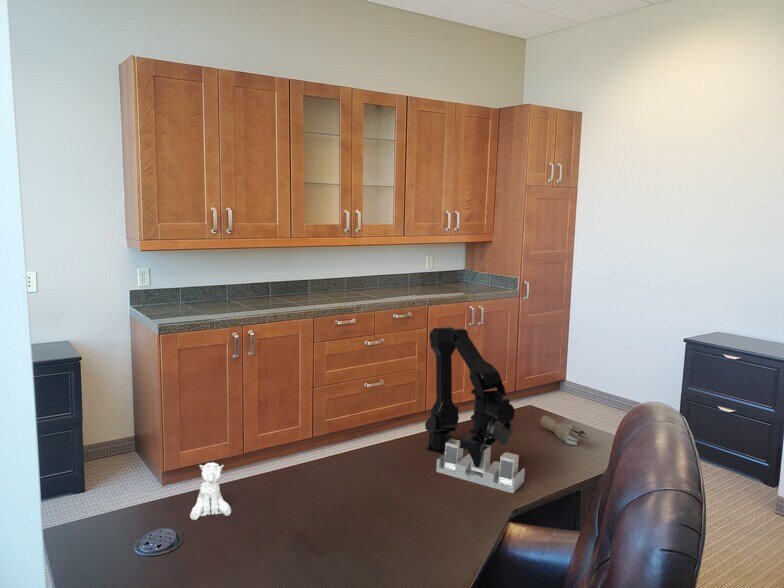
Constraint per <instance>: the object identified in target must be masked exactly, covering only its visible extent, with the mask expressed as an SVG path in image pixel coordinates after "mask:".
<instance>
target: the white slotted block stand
mask: <svg viewBox="0 0 784 588" xmlns="http://www.w3.org/2000/svg"><path fill="white" fill-rule="evenodd" d="M459 446H460V440H459V439H454V438H452V439H450V440H449V441H447V442H446V447H445V453H444V454H443V453H442V454H441V455H440V456H439V457H437V458H436V469H435V470H436V473H439V474H444V475H447V476H450V477H452V478H457V479H459V480H464V481H467V482H471V483H474V484H479V485H481V486H486V487H489V488H492V489H496V490H499V491H503V492H506V493H510V494H514V493H515V492H516V491H517V490H518V489H519V488H520V487H522V485H523V484H524V483H525V474H526V473H525V472H526V468H524V467H523V468H522V469H521V470H520V471H519V470H518V469H519V459H520V455H519V454H515V453H510V452H508V451H506V452H503V453H502V454H501V455H500V457H499V459H500V460H499V461H497V460H496V461H495V460H494V461H493V462H492V463H490V466H489V467H488V468H486V469H485V470H484V471H483V473H481V472H477V471H474V470H471V466H472V458H471V456H470V453H467V454H466V455H465V456H464V449H462V448H460V447H459ZM518 471H519V472H518Z"/></svg>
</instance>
